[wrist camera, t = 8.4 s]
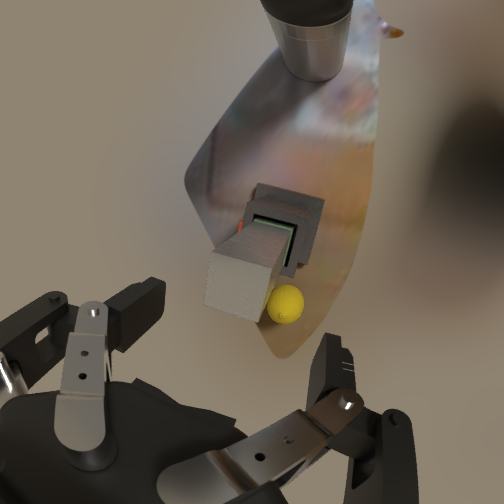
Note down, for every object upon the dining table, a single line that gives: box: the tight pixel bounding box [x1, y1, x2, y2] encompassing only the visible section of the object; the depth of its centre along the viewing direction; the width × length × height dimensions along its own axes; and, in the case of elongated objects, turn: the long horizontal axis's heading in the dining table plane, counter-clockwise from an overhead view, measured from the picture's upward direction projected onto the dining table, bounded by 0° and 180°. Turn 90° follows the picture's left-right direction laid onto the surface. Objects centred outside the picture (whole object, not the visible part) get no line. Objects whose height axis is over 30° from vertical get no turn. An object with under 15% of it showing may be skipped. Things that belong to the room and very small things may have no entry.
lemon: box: [267, 284, 304, 324], centre depth 41 cm, size 6×6×8 cm
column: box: [203, 216, 296, 322], centre depth 27 cm, size 4×4×19 cm
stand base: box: [238, 183, 325, 278], centre depth 36 cm, size 10×10×12 cm
